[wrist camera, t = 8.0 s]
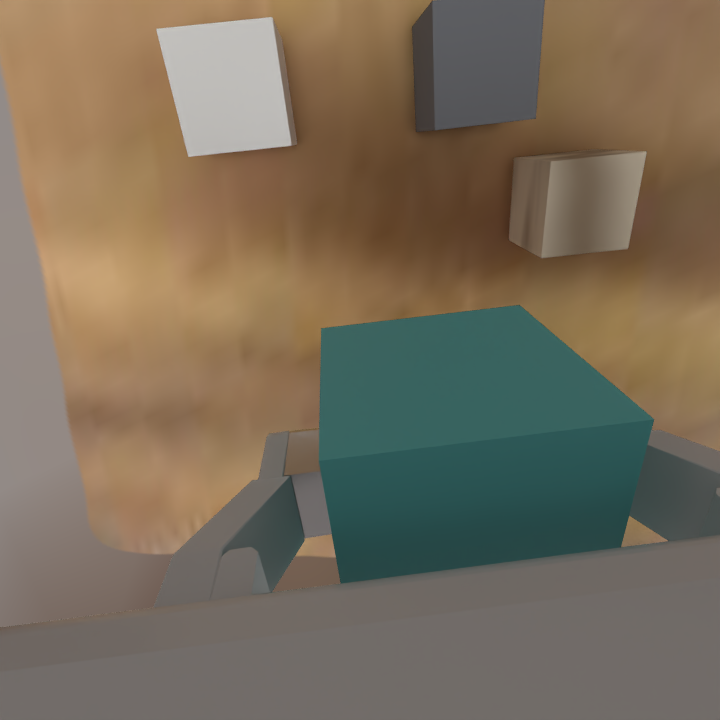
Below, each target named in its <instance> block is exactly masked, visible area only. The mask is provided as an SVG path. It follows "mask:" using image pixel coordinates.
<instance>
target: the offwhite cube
mask: <svg viewBox="0 0 720 720" xmlns="http://www.w3.org/2000/svg"><path fill="white" fill-rule="evenodd" d="M156 30H157V34H158V38H159V42H160V46H161V50H162V54H163V58H164V62H165V66H166V70H167V74H168V78H169V82H170V86H171V90H172V93H173V97H174V101H175V105H176V109H177V113H178V117H179V121H180V125H181V129H182V133H183V137H184V141H185V145H186V149H187V153H188V157H191V156H200V155H210V154H219V153H228V152H238V151H247V150H256V149H265V148H275V147H284V146H293V145H297V138H296V131H295V124H294V117H293V110H292V103H291V97H290V90H289V83H288V76H287V69H286V62H285V55H284V48H283V41H282V38H281V36H280V34H279V31H278V29H277V27H276V25H275V22H274V20H273V18H272V17H268V18H258V19H249V20H239V21H229V22H219V23H209V24H199V25H190V26H180V27H170V28H160V29H156Z"/></svg>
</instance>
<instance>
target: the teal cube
mask: <svg viewBox="0 0 720 720" xmlns="http://www.w3.org/2000/svg"><path fill="white" fill-rule="evenodd" d="M653 422H654V419H653V418H652V417H651V416H650V415H648V414H647V413H646V412H645V411H644V410H643V409H641V408H640V407H639V406H638V405H637V404H635V403H634V402H633V401H632V400H631V399H630V398H628V397H627V396H626V395H625V394H624V393H622V392H621V391H620V390H619V389H618V388H617V387H615V386H614V385H613V384H612V383H611V382H610V381H608V380H607V379H606V378H605V377H604V376H602V375H601V374H600V373H599V372H598V371H597V370H595V369H594V368H593V367H592V366H591V365H589V364H588V363H587V362H586V361H585V360H584V359H582V358H581V357H580V356H579V355H578V354H576V353H575V352H574V351H573V350H572V349H571V348H569V347H568V346H567V345H566V344H565V343H564V342H562V341H561V340H560V339H559V338H558V337H556V336H555V335H554V334H553V333H552V332H551V331H549V330H548V329H547V328H546V327H545V326H543V325H542V324H541V323H540V322H539V321H538V320H536V319H535V318H534V317H533V316H532V315H530V314H529V313H528V312H527V311H526V310H525V309H523V308H522V307H521V306H520V305H516V306H507V307H499V308H490V309H482V310H473V311H465V312H456V313H448V314H439V315H431V316H422V317H414V318H406V319H397V320H389V321H380V322H372V323H363V324H355V325H346V326H338V327H329V328H321V371H320V420H319V466H320V471H321V477H322V482H323V488H324V493H325V499H326V504H327V510H328V515H329V521H330V527H331V532H332V538H333V543H334V549H335V554H336V559H337V565H338V570H339V576H340V582H341V583H349V582H357V581H364V580H372V579H380V578H388V577H395V576H403V575H411V574H418V573H426V572H434V571H442V570H449V569H457V568H465V567H472V566H480V565H488V564H495V563H503V562H511V561H519V560H526V559H534V558H542V557H549V556H557V555H565V554H572V553H580V552H588V551H596V550H604V549H612V548H620V547H621V544H622V541H623V537H624V533H625V529H626V525H627V521H628V518H629V514H630V510H631V506H632V502H633V498H634V495H635V491H636V487H637V483H638V479H639V475H640V472H641V468H642V464H643V460H644V456H645V453H646V449H647V445H648V441H649V437H650V433H651V430H652V426H653Z"/></svg>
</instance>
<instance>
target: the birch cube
mask: <svg viewBox="0 0 720 720" xmlns="http://www.w3.org/2000/svg"><path fill="white" fill-rule="evenodd" d="M646 153H647V151H626V150H602V149H591V150H582V151H572V152H563V153H553V154H544V155H534V156H524V157H515V158H514V166H513V181H512V197H511V212H510V227H509V241H511V242H513V243H515V244H517V245H518V246H520V247H522V248H524V249H526V250H527V251H529V252H531V253H533V254H534V255H536V256H538V257H540V258H548V257H557V256H566V255H575V254H584V253H593V252H602V251H612V250H621V249H628V246H629V241H630V236H631V230H632V225H633V220H634V215H635V210H636V205H637V199H638V194H639V189H640V184H641V179H642V174H643V169H644V163H645V158H646Z"/></svg>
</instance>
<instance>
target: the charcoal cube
mask: <svg viewBox="0 0 720 720" xmlns="http://www.w3.org/2000/svg"><path fill="white" fill-rule="evenodd" d="M544 2H545V0H435V1H432V2H431V3H430V5H429V6H428V7H427V8H426V10H425V11H424V12H423V14H422V15H421V16H420V17H419V19H418V20H417V21H416V23H415V24H414V25H413V26H412V37H413V64H414V92H415V119H416V132H420V131H431V130H441V129H450V128H459V127H467V126H476V125H485V124H494V123H502V122H511V121H520V120H529V119H536V109H537V95H538V82H539V69H540V55H541V42H542V29H543V15H544Z"/></svg>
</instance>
